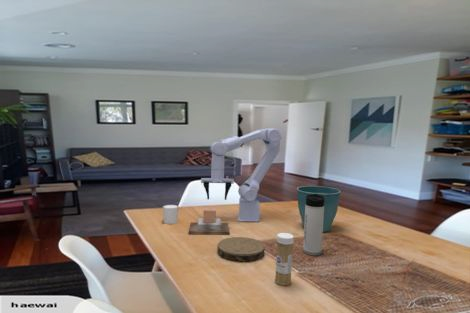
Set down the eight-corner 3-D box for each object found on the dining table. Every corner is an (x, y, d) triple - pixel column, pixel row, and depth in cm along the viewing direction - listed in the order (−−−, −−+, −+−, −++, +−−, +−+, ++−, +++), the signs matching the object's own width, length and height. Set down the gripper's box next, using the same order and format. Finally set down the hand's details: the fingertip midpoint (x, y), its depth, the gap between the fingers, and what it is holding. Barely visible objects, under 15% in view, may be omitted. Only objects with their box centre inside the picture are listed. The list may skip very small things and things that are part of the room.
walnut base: (228, 225, 140) (228, 217, 140) (229, 234, 128) (229, 225, 128) (190, 225, 139) (190, 216, 139) (188, 234, 127) (188, 225, 127)
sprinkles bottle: (271, 282, 90) (273, 234, 89) (280, 276, 93) (282, 231, 92) (285, 287, 87) (288, 239, 86) (294, 282, 91) (296, 235, 89)
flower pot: (290, 230, 136) (292, 190, 134) (299, 220, 152) (301, 184, 151) (336, 237, 129) (338, 195, 127) (339, 225, 146) (342, 188, 144)
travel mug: (322, 250, 115) (325, 194, 113) (320, 256, 109) (324, 198, 107) (304, 247, 117) (307, 192, 115) (301, 254, 111) (304, 196, 109)
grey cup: (180, 220, 145) (180, 205, 145) (176, 224, 139) (176, 208, 138) (165, 219, 146) (165, 204, 145) (160, 223, 139) (160, 207, 139)
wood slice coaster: (258, 266, 101) (258, 257, 100) (210, 259, 105) (210, 249, 105) (268, 248, 116) (268, 240, 116) (225, 242, 120) (226, 234, 120)
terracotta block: (215, 219, 136) (215, 207, 136) (215, 222, 131) (216, 210, 131) (203, 219, 136) (203, 207, 135) (203, 222, 131) (203, 210, 130)
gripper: (201, 169, 140) (200, 200, 141) (234, 170, 141) (233, 201, 142) (201, 167, 147) (200, 197, 148) (233, 168, 148) (232, 197, 149)
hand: (216, 199), depth 146 cm, fingers open, 7 cm apart
